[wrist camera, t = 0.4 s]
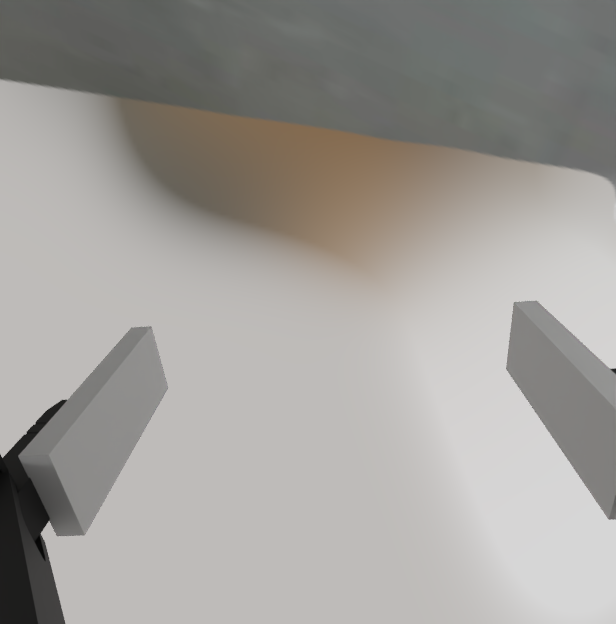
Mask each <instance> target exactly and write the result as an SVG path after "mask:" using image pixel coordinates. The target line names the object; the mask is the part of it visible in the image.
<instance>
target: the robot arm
mask: <svg viewBox="0 0 616 624" xmlns="http://www.w3.org/2000/svg"><path fill="white" fill-rule="evenodd" d="M506 369H507V371H508V372H509V374H510V375H511V377H512V378H513V380H514V381H515V383H516V384H517V385H518V387H519V388H520V390H521V391H522V393H523V394H524V396H525V397H526V399H527V400H528V402H529V403H530V405H531V406H532V408H533V409H534V410H535V412H536V413H537V415H538V416H539V418H540V419H541V421H542V422H543V424H544V425H545V427H546V428H547V430H548V431H549V432H550V434H551V435H552V437H553V438H554V440H555V441H556V443H557V444H558V445H559V447H560V448H561V450H562V452H563V453H564V454H565V456H566V457H567V459H568V460H569V462H570V463H571V465H572V466H573V468H574V469H575V471H576V472H577V473H578V475H579V477H580V478H581V479H582V481H583V482H584V484H585V485H586V487H587V488H588V490H589V491H590V493H591V494H592V495H593V497H594V499H595V500H596V501H597V503H598V504H599V506H600V507H601V509H602V510H603V511H604V513H605V515H606V516H607V518H608V519H616V369H609V368H608V367H607V366H606V365H605V364H604V363H603V362H602V361H601V360H600V359H598V357H596V356H595V355H594V354H593V353H592V352H591V351H590V350H589V349H588V348H587V347H586V346H585V345H583V343H581V342H580V341H579V340H578V339H577V338H576V337H575V336H574V335H573V334H572V333H571V332H570V331H569V330H567V329H566V328H565V327H564V326H563V325H562V324H561V323H560V322H559V321H558V320H557V319H556V318H555V317H554V316H552V315H551V314H550V313H549V312H548V311H547V310H546V309H545V308H544V307H543V306H542V305H541V304H540V303H538V302H537V301H525V302H514V306H513V315H512V324H511V332H510V341H509V349H508V358H507V367H506ZM167 389H168V386H167V382H166V378H165V375H164V371H163V367H162V364H161V360H160V356H159V353H158V349H157V346H156V342H155V338H154V335H153V331H152V327H137V328H131V329H130V330H129V331H128V333H126V335H125V336H124V337H123V338H122V339H121V340H120V342H119V343H118V344H117V345H116V346H115V347H114V348H113V350H111V352H110V353H109V354H108V355H107V356H106V357H105V358H104V360H103V361H102V362H101V363H100V364H99V365H98V366H97V367H96V369H95V370H94V371H93V372H92V373H91V374H90V375H89V376H88V378H87V379H86V380H85V381H84V382H83V383H82V384H81V386H80V387H79V388H78V389H77V390H76V391H75V392H74V393H73V395H72V396H71V397H70V398H69V399H68V400H62V401H60V402H59V403H57V404H56V405H54V406H53V407H51V408H50V409H48V410H47V411H46V412H45V413H44V414H43V415H42V416H41V417H40V418H39V419H38V420H37V421H36V424H35V425H33V426H32V427H31V428H30V429H29V430H28V431H27V434H26V435H24V436H23V437H22V438H21V439H20V440H19V441H18V442H17V443H16V444H15V445H14V447H12V449H11V450H10V451H9V452H8V453H7V454H6V455H5V456H4V457H3V458H2V457H1V455H0V624H65V620H64V617H63V612H62V609H61V605H60V601H59V597H58V593H57V589H56V585H55V581H54V577H53V573H52V569H51V565H50V561H49V557H48V553H47V549H46V545H45V542H44V540H43V538H42V536H41V534H40V533H41V532H42V530H43V528H44V527H45V526H46V524H47V523H48V521H50V523H51V525H52V527H53V529H54V531H55V533H56V535H57V536H74V535H85V534H86V532H87V530H88V528H89V527H90V525H91V523H92V522H93V520H94V518H95V516H96V514H97V513H98V511H99V509H100V507H101V506H102V504H103V502H104V500H105V499H106V497H107V495H108V493H109V491H110V490H111V488H112V486H113V484H114V483H115V481H116V479H117V477H118V475H119V474H120V472H121V470H122V468H123V467H124V465H125V463H126V461H127V459H128V458H129V456H130V454H131V452H132V450H133V449H134V447H135V445H136V443H137V442H138V440H139V438H140V437H141V435H142V433H143V431H144V429H145V428H146V426H147V424H148V422H149V421H150V419H151V417H152V415H153V414H154V412H155V410H156V408H157V407H158V405H159V403H160V401H161V399H162V398H163V396H164V394H165V392H166V391H167Z"/></svg>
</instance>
